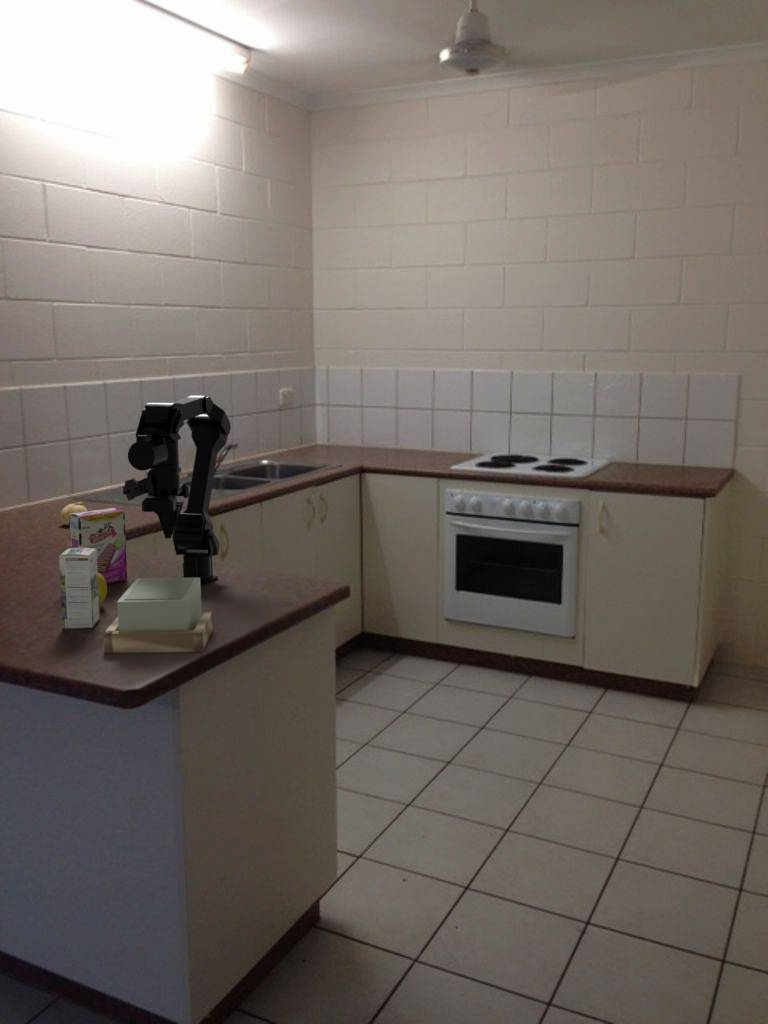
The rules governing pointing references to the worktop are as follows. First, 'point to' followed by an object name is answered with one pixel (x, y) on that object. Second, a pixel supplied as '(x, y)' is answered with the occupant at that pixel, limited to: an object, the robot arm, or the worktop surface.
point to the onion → (71, 511)
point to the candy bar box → (102, 540)
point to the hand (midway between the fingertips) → (168, 538)
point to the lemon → (102, 588)
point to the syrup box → (79, 588)
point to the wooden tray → (158, 638)
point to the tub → (160, 605)
